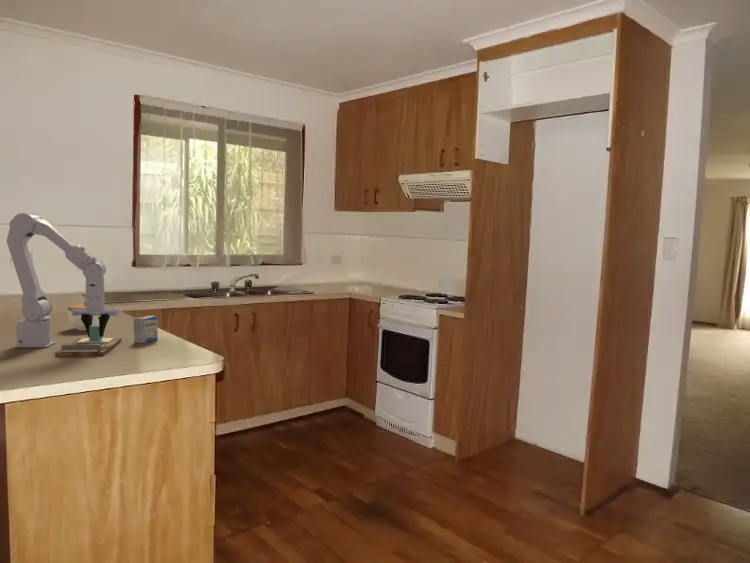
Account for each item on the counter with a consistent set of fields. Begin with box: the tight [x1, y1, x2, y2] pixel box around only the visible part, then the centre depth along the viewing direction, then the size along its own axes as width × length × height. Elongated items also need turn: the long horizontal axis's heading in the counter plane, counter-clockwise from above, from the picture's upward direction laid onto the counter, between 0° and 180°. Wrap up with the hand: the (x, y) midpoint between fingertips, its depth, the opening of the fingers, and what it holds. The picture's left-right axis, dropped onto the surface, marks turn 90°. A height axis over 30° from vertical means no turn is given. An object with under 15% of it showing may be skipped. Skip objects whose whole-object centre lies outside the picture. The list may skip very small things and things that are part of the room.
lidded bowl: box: [67, 300, 101, 331], centre depth 220 cm, size 13×13×11 cm
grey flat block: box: [61, 343, 105, 352], centre depth 181 cm, size 11×9×2 cm
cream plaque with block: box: [77, 324, 115, 343], centre depth 192 cm, size 10×6×5 cm, turn 101°
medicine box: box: [133, 315, 159, 344], centre depth 201 cm, size 8×4×9 cm, turn 168°
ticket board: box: [54, 337, 122, 357], centre depth 187 cm, size 14×22×1 cm, turn 11°
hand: (95, 336), depth 192 cm, fingers closed on cream plaque with block, 3 cm apart
